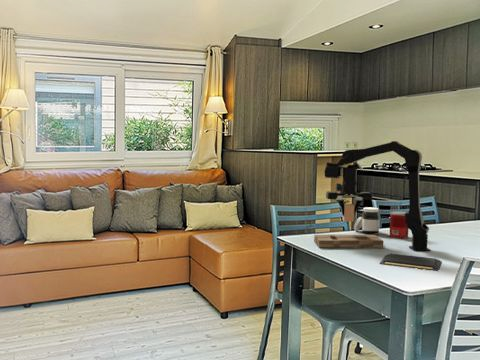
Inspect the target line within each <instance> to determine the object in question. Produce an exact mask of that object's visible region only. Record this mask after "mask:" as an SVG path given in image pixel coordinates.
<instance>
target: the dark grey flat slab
mask: <svg viewBox="0 0 480 360" xmlns="http://www.w3.org/2000/svg"><path fill="white" fill-rule="evenodd" d="M442 264H443V262H442V260H440V259H437V258H433V257H426V256H424V257H423V256H418V255H417V256H416V255H408V254H399V253H391V252H390V253H387V254H386V255H384V256H383V258H382V259H381V260H380V262H379V263H378V265H381V266H390V267H391V266H393V267H399V268H400V267H401V268H408V269H415V268H417V270H423V269H425V271H431V270H433V271H432V272H439V271H440V269H441V267H442ZM438 270H439V271H438Z"/></svg>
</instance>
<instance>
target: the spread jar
mask: <svg viewBox="0 0 480 360" xmlns="http://www.w3.org/2000/svg"><path fill="white" fill-rule="evenodd" d="M354 222H355V223H354V225H353V230H354V231H357V232H358V231H359V230H361V232H362V233H363V234H364V235H377V234H379V233H380V232H379V231H380V215H379V208H378V207H370V206H369V207H368V206H365V207H363V212H362V216H359V217H358V218H357V219H356V221H354Z"/></svg>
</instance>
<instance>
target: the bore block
mask: <svg viewBox="0 0 480 360" xmlns="http://www.w3.org/2000/svg"><path fill="white" fill-rule="evenodd" d="M313 237H314V238H313V241H314V243H315V244H316V246H317V247H318V249H383V248H384V240H383V239H382V238H380V237H379V236H378V235H377V234H314V235H313Z"/></svg>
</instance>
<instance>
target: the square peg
mask: <svg viewBox="0 0 480 360" xmlns="http://www.w3.org/2000/svg"><path fill="white" fill-rule="evenodd" d="M341 217H342V221H343V222H348V223H350V222H355V215H354V203H344V216H343V215H342V216H341Z"/></svg>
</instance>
